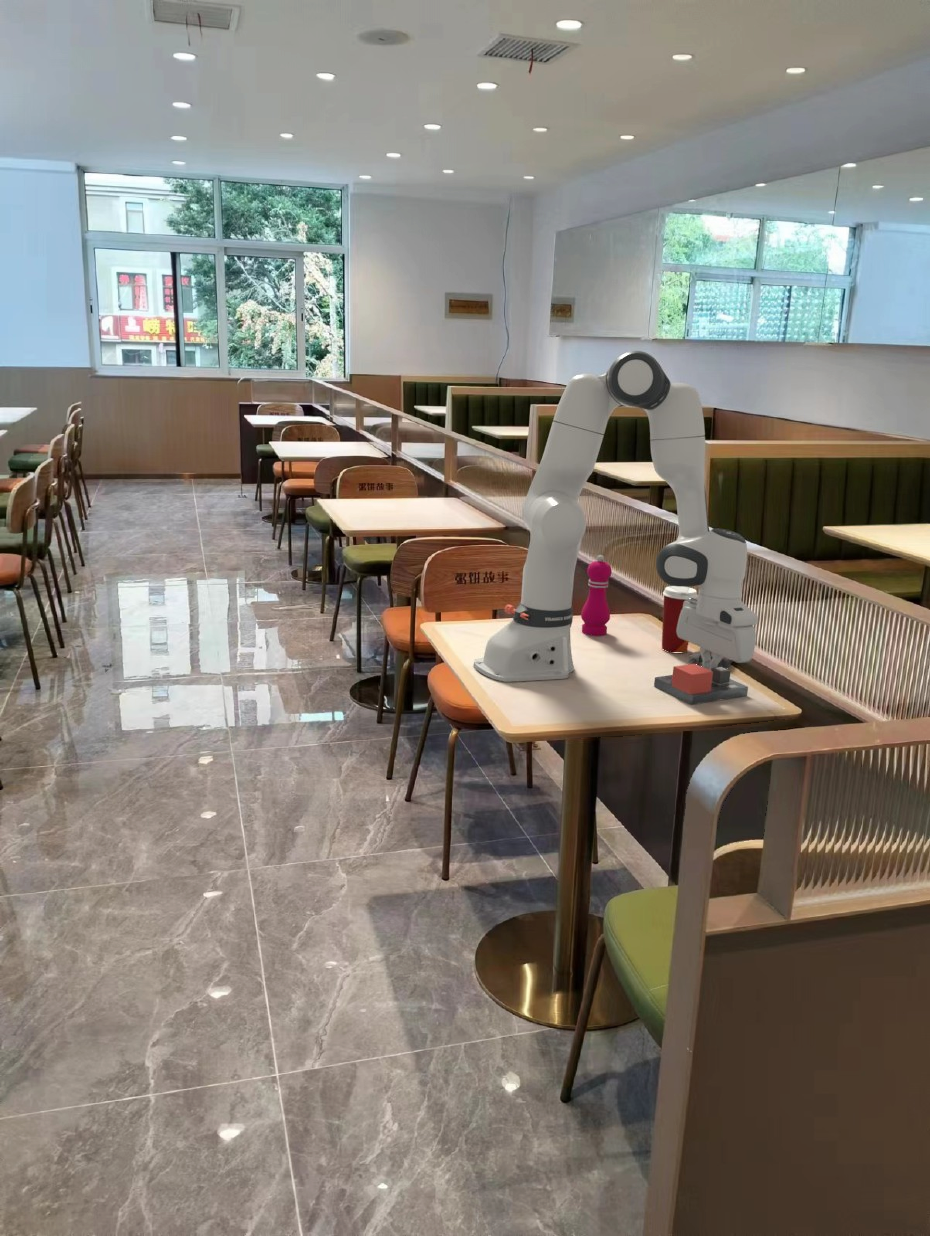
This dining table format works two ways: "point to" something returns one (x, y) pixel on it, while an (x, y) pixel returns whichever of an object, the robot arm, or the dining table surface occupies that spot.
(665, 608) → the coffee cup
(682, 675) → the cap
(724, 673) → the block
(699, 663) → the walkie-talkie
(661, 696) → the dining table surface
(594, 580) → the pepper mill
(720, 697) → the panel
